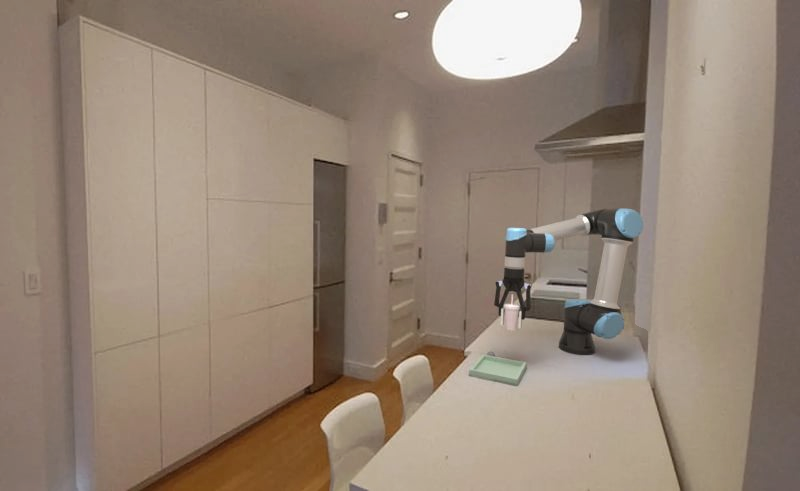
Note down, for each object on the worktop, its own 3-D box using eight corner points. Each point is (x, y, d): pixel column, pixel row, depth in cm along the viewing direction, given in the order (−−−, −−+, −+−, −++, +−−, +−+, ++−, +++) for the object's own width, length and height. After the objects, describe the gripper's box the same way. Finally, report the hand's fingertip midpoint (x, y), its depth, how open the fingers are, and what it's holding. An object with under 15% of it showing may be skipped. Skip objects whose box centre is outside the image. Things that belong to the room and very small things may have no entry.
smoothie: (500, 330, 150) (502, 294, 149) (504, 326, 156) (506, 291, 155) (517, 332, 147) (519, 296, 146) (521, 328, 153) (522, 293, 152)
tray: (526, 368, 155) (526, 362, 154) (517, 386, 139) (517, 379, 139) (482, 360, 163) (482, 354, 163) (469, 375, 147) (469, 369, 147)
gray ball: (496, 359, 164) (496, 351, 164) (493, 362, 161) (494, 353, 161) (487, 357, 166) (488, 349, 166) (485, 360, 163) (485, 352, 162)
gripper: (541, 268, 148) (538, 327, 150) (492, 264, 157) (489, 319, 159) (538, 271, 142) (534, 332, 144) (487, 266, 151) (484, 324, 153)
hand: (511, 325), depth 151 cm, fingers closed on smoothie, 6 cm apart
